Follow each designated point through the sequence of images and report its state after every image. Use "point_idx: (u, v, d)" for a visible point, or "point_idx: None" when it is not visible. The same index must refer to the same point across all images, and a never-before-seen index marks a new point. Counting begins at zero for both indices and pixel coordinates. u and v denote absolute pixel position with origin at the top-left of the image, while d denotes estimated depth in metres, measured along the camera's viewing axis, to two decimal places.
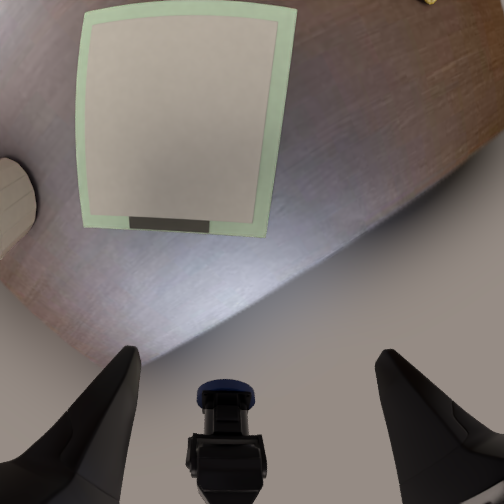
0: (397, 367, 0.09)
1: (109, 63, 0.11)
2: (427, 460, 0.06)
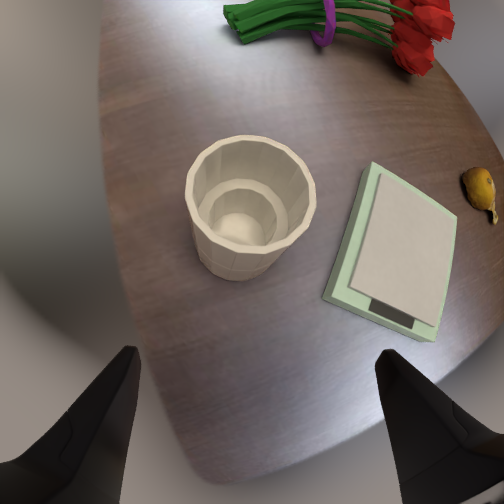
0: (397, 367, 0.09)
1: (389, 200, 0.24)
2: (427, 460, 0.06)
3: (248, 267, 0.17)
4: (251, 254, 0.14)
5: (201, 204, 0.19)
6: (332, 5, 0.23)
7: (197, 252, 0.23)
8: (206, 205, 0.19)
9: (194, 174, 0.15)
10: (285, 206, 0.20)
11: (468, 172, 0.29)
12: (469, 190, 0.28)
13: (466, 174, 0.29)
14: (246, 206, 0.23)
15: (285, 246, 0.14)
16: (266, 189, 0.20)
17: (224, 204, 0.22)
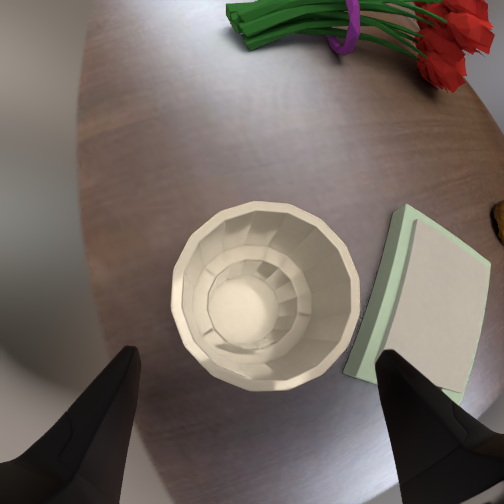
0: (397, 367, 0.09)
1: (425, 254, 0.19)
2: (427, 460, 0.06)
3: None
4: None
5: (198, 283, 0.14)
6: (356, 6, 0.19)
7: None
8: (204, 285, 0.14)
9: (183, 271, 0.10)
10: (308, 283, 0.15)
11: (500, 206, 0.24)
12: (501, 227, 0.23)
13: (498, 208, 0.24)
14: (256, 272, 0.18)
15: (316, 377, 0.09)
16: (284, 260, 0.15)
17: (228, 272, 0.17)
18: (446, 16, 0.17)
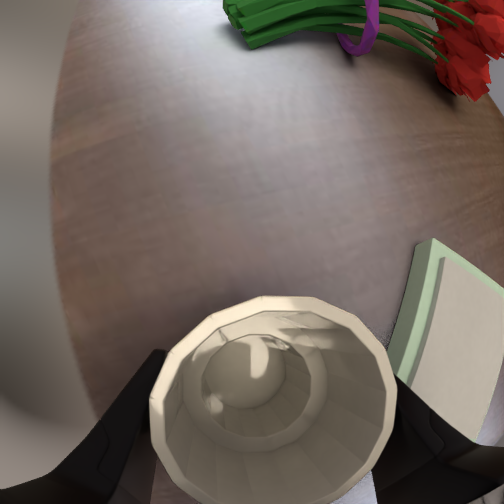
0: None
1: (452, 299, 0.16)
2: (402, 469, 0.06)
3: None
4: None
5: (188, 366, 0.11)
6: (375, 0, 0.15)
7: None
8: (196, 367, 0.11)
9: (163, 400, 0.06)
10: (325, 360, 0.12)
11: None
12: None
13: None
14: None
15: (333, 500, 0.06)
16: (296, 334, 0.12)
17: None
18: (472, 17, 0.13)
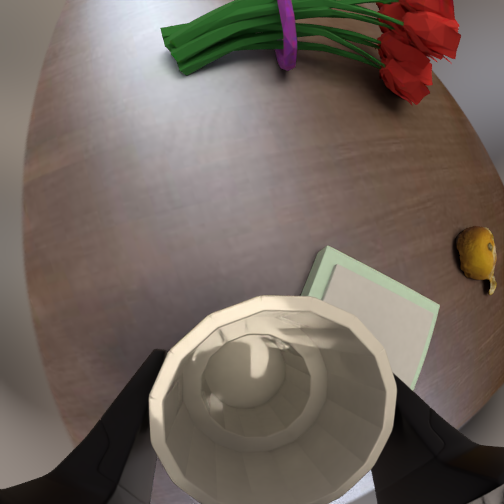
0: None
1: (342, 305, 0.19)
2: (402, 470, 0.06)
3: None
4: None
5: (187, 365, 0.11)
6: (291, 17, 0.19)
7: None
8: (196, 367, 0.11)
9: (163, 400, 0.06)
10: (324, 360, 0.12)
11: (465, 235, 0.24)
12: (463, 260, 0.24)
13: (462, 237, 0.24)
14: None
15: (333, 499, 0.06)
16: (296, 333, 0.12)
17: None
18: (404, 17, 0.17)
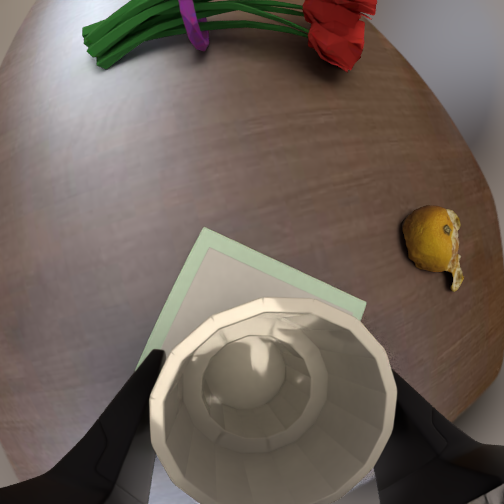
0: None
1: (212, 296, 0.17)
2: (405, 469, 0.06)
3: None
4: None
5: (188, 366, 0.11)
6: None
7: None
8: (196, 368, 0.11)
9: (163, 400, 0.06)
10: (325, 361, 0.12)
11: (412, 216, 0.21)
12: (410, 246, 0.21)
13: (409, 219, 0.22)
14: None
15: (332, 501, 0.06)
16: (296, 335, 0.12)
17: None
18: None
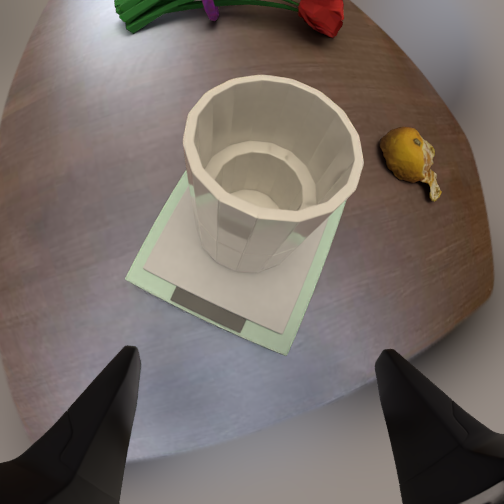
0: (397, 367, 0.09)
1: None
2: (427, 460, 0.06)
3: (267, 249, 0.13)
4: (278, 222, 0.09)
5: (205, 169, 0.14)
6: None
7: None
8: (211, 171, 0.15)
9: (197, 115, 0.10)
10: (312, 176, 0.15)
11: (387, 134, 0.25)
12: (387, 155, 0.25)
13: (384, 136, 0.25)
14: (261, 180, 0.18)
15: (327, 213, 0.10)
16: (288, 154, 0.15)
17: (234, 175, 0.17)
18: None
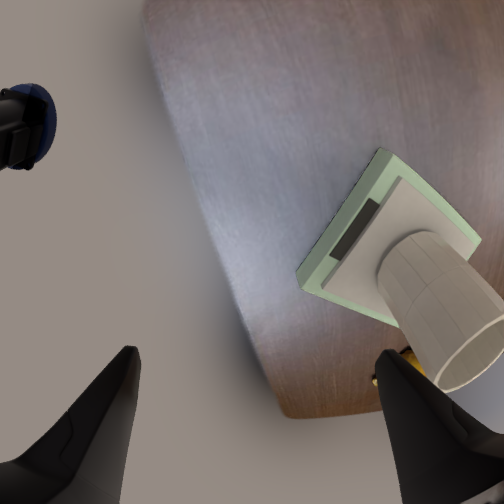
0: (397, 367, 0.09)
1: (454, 247, 0.20)
2: (426, 460, 0.06)
3: (414, 326, 0.15)
4: (440, 364, 0.12)
5: None
6: None
7: (417, 234, 0.18)
8: None
9: None
10: None
11: None
12: None
13: None
14: None
15: None
16: None
17: None
18: None
